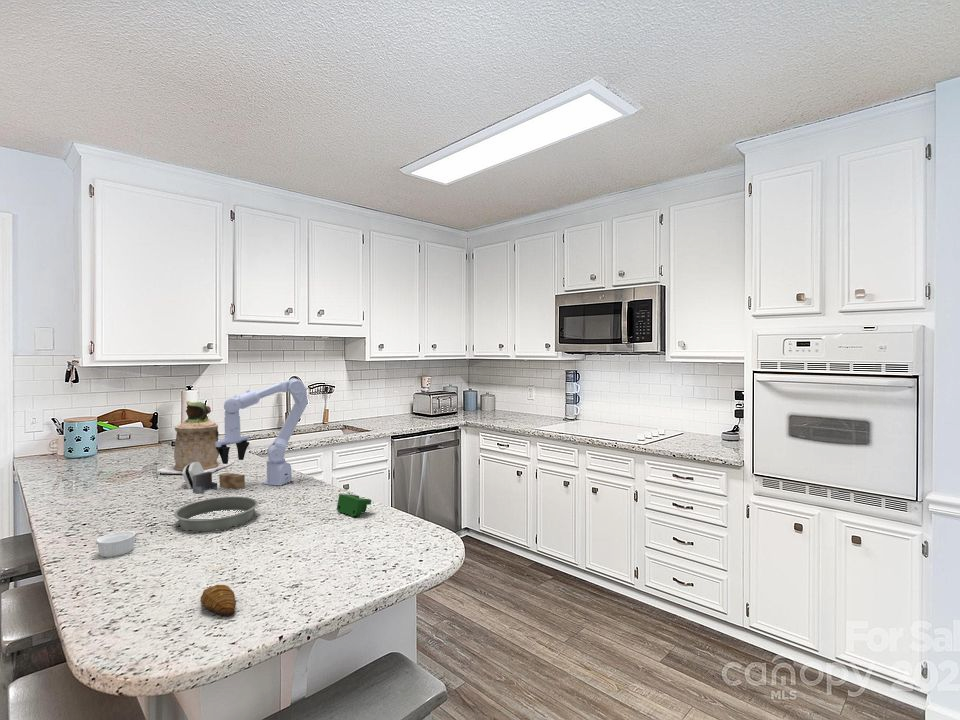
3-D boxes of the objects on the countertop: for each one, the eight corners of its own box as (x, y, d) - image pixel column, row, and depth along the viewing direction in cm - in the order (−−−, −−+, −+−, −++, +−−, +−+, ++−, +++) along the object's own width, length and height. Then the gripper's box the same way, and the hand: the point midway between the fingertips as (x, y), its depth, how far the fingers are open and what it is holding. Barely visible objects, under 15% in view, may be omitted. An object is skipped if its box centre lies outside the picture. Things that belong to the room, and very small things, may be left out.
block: (244, 487, 212) (244, 474, 212) (237, 489, 209) (237, 476, 209) (227, 484, 216) (226, 472, 216) (219, 487, 213) (219, 474, 213)
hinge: (202, 488, 211) (192, 465, 210) (189, 493, 210) (179, 470, 209) (210, 478, 227) (201, 457, 226) (199, 482, 226) (189, 461, 225)
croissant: (190, 602, 116) (189, 580, 116) (221, 592, 121) (221, 570, 121) (213, 624, 107) (213, 600, 107) (247, 612, 112) (246, 588, 112)
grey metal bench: (217, 489, 209) (217, 472, 209) (201, 493, 203) (201, 476, 203) (208, 487, 211) (208, 471, 211) (192, 492, 205) (192, 475, 205)
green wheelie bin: (364, 526, 177) (375, 503, 176) (350, 526, 173) (361, 503, 172) (348, 506, 185) (358, 483, 184) (333, 505, 181) (344, 482, 180)
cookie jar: (209, 475, 233) (207, 403, 232) (154, 475, 233) (152, 403, 232) (236, 462, 257) (234, 397, 257) (186, 463, 258) (184, 398, 257)
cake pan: (155, 528, 165) (155, 514, 165) (219, 506, 188) (219, 493, 188) (215, 538, 156) (215, 523, 156) (274, 513, 179) (274, 499, 179)
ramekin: (106, 560, 140) (105, 544, 140) (91, 554, 144) (90, 538, 144) (142, 549, 147) (141, 534, 147) (126, 543, 152) (126, 528, 152)
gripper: (240, 425, 220) (240, 457, 220) (209, 430, 206) (210, 464, 207) (252, 425, 217) (253, 458, 217) (222, 431, 203) (223, 466, 204)
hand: (233, 461), depth 212 cm, fingers open, 7 cm apart
